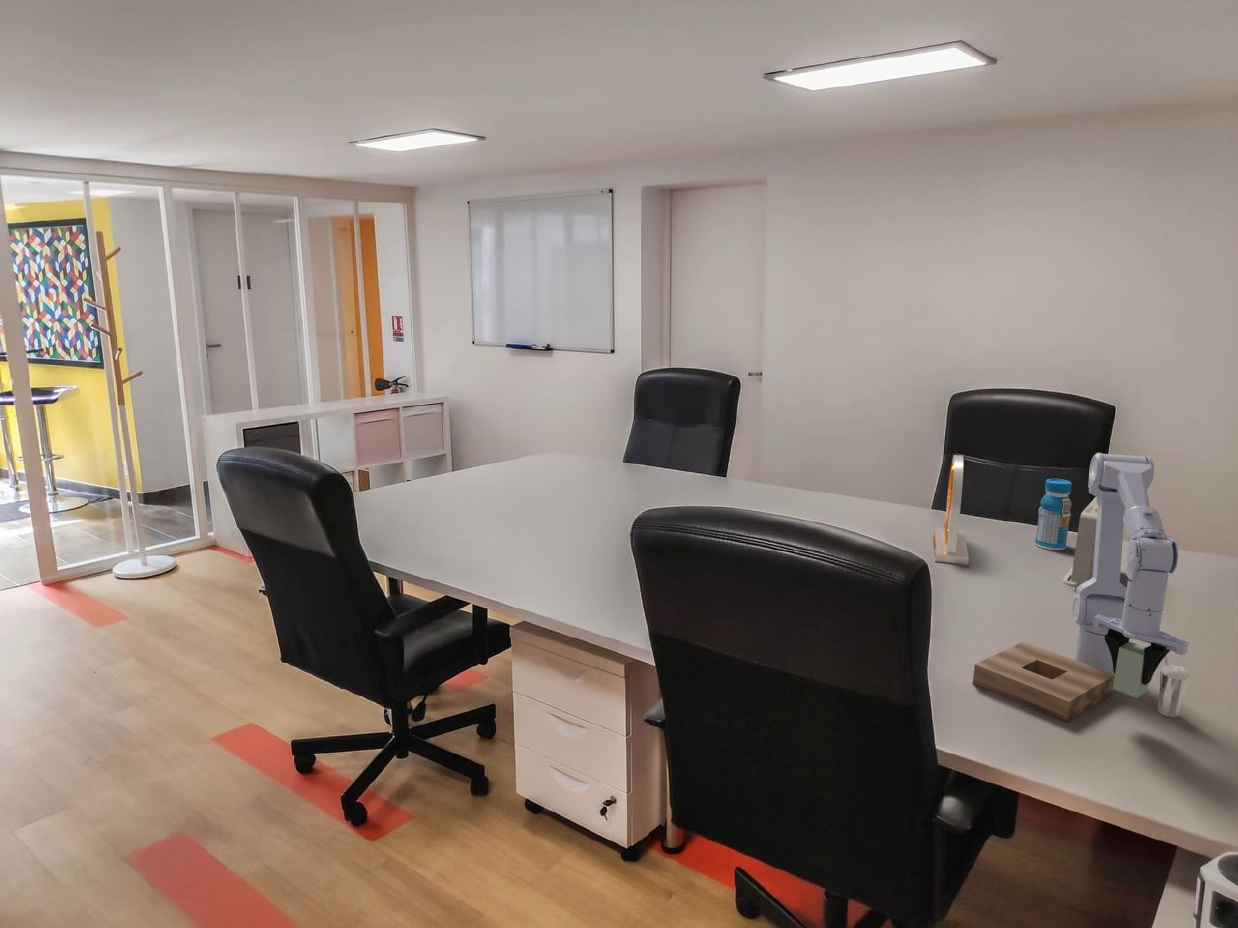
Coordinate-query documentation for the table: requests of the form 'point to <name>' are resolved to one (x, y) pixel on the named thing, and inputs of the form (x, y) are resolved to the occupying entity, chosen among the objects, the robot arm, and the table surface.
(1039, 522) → the beverage bottle
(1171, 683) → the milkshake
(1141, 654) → the peg
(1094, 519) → the network device
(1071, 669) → the socket block
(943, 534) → the award
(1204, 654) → the table surface
